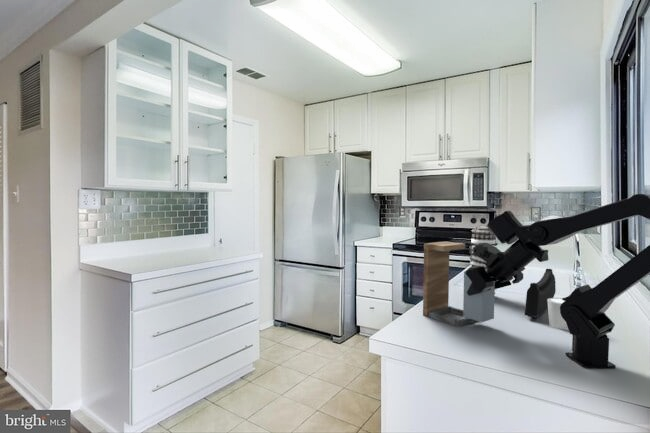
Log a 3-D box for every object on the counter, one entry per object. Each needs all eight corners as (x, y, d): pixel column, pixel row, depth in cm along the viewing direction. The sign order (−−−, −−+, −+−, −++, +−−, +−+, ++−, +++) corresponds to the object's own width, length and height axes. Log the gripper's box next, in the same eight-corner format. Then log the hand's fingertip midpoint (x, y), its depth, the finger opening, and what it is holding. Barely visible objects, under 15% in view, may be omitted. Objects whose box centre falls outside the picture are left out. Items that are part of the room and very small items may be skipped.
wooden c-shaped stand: (479, 319, 104) (480, 245, 103) (457, 326, 99) (459, 248, 98) (444, 309, 114) (445, 241, 113) (422, 314, 109) (424, 243, 108)
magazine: (536, 292, 100) (555, 250, 122) (523, 290, 102) (544, 249, 124) (538, 345, 105) (555, 295, 126) (525, 342, 107) (545, 293, 128)
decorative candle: (496, 301, 124) (498, 228, 122) (467, 297, 128) (468, 226, 126) (496, 294, 132) (498, 226, 131) (469, 291, 136) (470, 225, 135)
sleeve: (493, 318, 98) (494, 272, 98) (481, 322, 95) (482, 275, 95) (475, 313, 103) (476, 269, 102) (463, 316, 100) (464, 271, 99)
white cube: (562, 331, 95) (563, 305, 95) (540, 323, 102) (541, 298, 102) (582, 329, 97) (583, 303, 97) (559, 320, 104) (560, 296, 104)
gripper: (513, 231, 100) (476, 265, 110) (473, 235, 89) (435, 272, 99) (542, 264, 94) (500, 297, 103) (503, 272, 83) (460, 308, 93)
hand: (474, 292), depth 100 cm, fingers closed on sleeve, 6 cm apart
